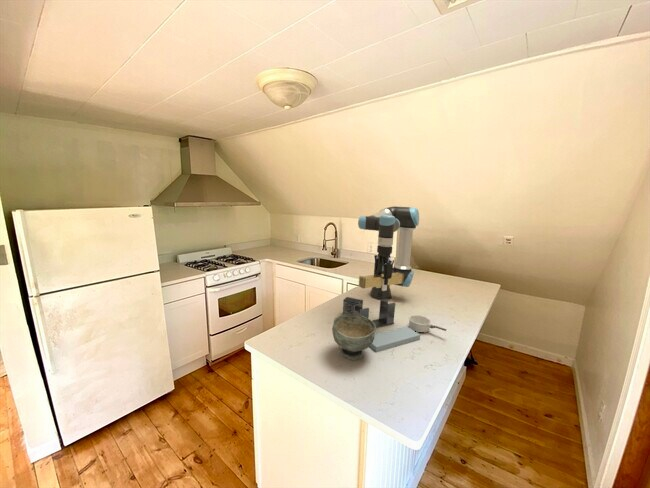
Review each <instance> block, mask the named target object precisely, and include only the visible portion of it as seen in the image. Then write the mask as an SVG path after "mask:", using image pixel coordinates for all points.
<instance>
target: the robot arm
mask: <svg viewBox="0 0 650 488" xmlns="http://www.w3.org/2000/svg"><path fill="white" fill-rule="evenodd" d="M357 222H358V223H357V226H358V229H360V230H367V231H375V232H376V231H378V235H377V237H378V239H377V248H376V252H377V253H378V254H375V255H374V256H373V257H374V270H373V275H379V274H384V278H383V280H382V286H379V287H371V290H370V291H369V292H370V293H369V295H370V297H371V298H372V299H375V300H379V301H380V300H384V299H388V300H390V299H392V292H391V291H392V290H391V288H390V286H391V285H388V279H390V278H391V277H392V273H397V272H400V273H403V274H404V282H403V283H401V284H394V285H393V286H399V287H403V288H404V287H405V288H409V287H410V286H411V284H412V281H413V279H414V273H415V272H414V270H412V268H413V267H412V266H411V265H410V263H411V255H412V253H411V252H412V243H413V234H414V230H415V229H416V227H418V226H419V225H420V213H419V209H418V208H417V207H413V206H408V207H407V206H394V205H393V206H389V207H386V208H385V207H384V208H383V209H382V208H381V210H379V212H376V213H373V214H371V215H369V216H368V215H361V216H360V217H359V218H358V221H357ZM398 230H399V231H398ZM397 231H398V232H399V234H398V243H397V244H398V245H397V255H396V264H395V260H393V259H391V255H392V253H393V245H394V233H395V232H397Z"/></svg>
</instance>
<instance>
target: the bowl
mask: <svg viewBox="0 0 650 488" xmlns="http://www.w3.org/2000/svg"><path fill="white" fill-rule="evenodd" d="M376 329H377V328H376V326H375V324H374V322H373V321H372V320H371V319H370V318H366V317H364V316H360V315H343V314H342V315H339V316H337V317H335V318H334V319H333V325H332V329H331V330H332V336H333V339H334V342H335V343H336V345H338V347H340V348H341V350H340V354H341V356H342V357H344V358H347V359H349V360H352V361H354V360H359V359H362V357H363V351H364V350H366V349H368V348H369V347H370V345H371V344H372V343H373V340H374V337H375V334H376Z"/></svg>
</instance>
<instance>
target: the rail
mask: <svg viewBox="0 0 650 488" xmlns="http://www.w3.org/2000/svg"><path fill="white" fill-rule="evenodd" d="M358 278H359V279H358V287H360V288H361V289H370V288H371V289H372V287H379V286H382V280H383V278H384V274H379V275H374V274H372V275H362V276H361V275H360V276H358ZM403 282H404V274H403V273H400V272H397V273H392V277H391V278H390V279H388V285H390V286H392V285H393V286H395V285H394V284H401V283H403Z"/></svg>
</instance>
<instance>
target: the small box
mask: <svg viewBox="0 0 650 488" xmlns="http://www.w3.org/2000/svg"><path fill="white" fill-rule="evenodd" d="M356 304H364V300H363V299H359V298H354V297H348V296H346V297H345V298H344V299H343V303H342V315H353V314H354V305H356Z"/></svg>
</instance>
